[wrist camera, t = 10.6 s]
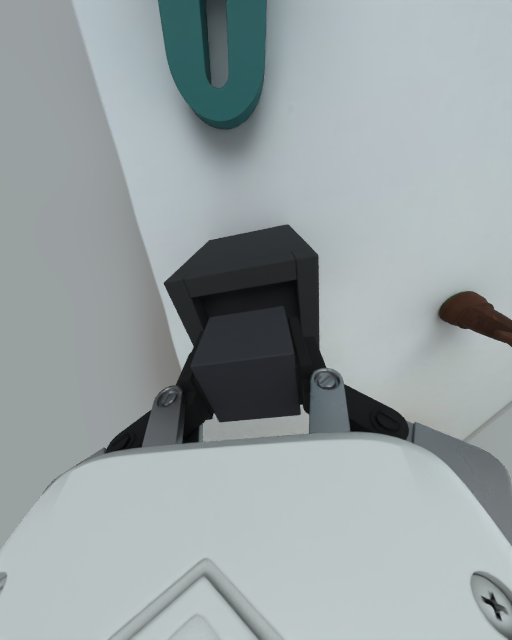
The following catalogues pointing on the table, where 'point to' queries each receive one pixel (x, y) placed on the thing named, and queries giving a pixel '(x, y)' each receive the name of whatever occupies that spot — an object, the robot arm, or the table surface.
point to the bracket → (194, 64)
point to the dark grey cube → (248, 366)
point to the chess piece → (476, 316)
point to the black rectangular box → (248, 279)
